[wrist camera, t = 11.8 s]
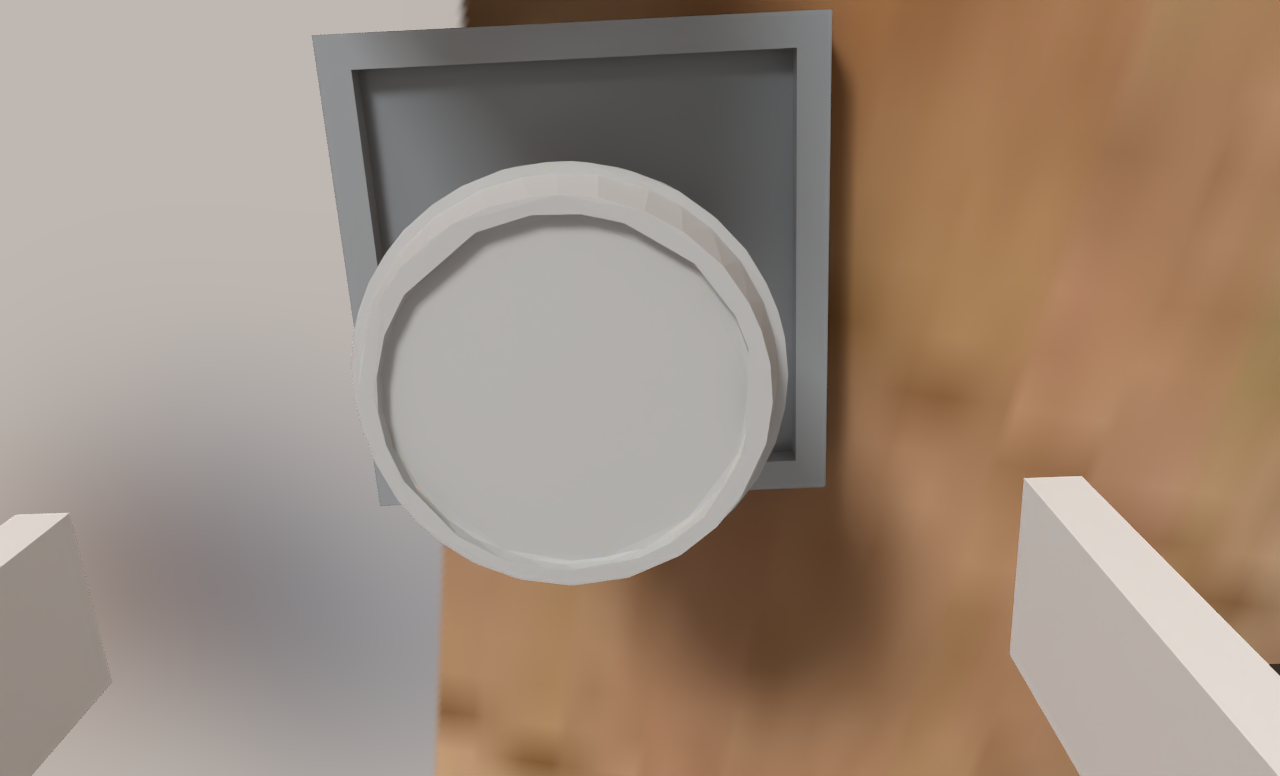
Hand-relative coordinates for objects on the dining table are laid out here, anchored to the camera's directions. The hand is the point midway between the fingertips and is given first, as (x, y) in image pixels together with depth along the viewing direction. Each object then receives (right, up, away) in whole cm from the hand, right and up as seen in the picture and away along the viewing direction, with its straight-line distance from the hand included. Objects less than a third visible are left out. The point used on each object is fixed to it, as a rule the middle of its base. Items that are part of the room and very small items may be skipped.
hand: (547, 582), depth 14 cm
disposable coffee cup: (0, +6, +18) cm, 19 cm away
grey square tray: (0, +7, +20) cm, 21 cm away
